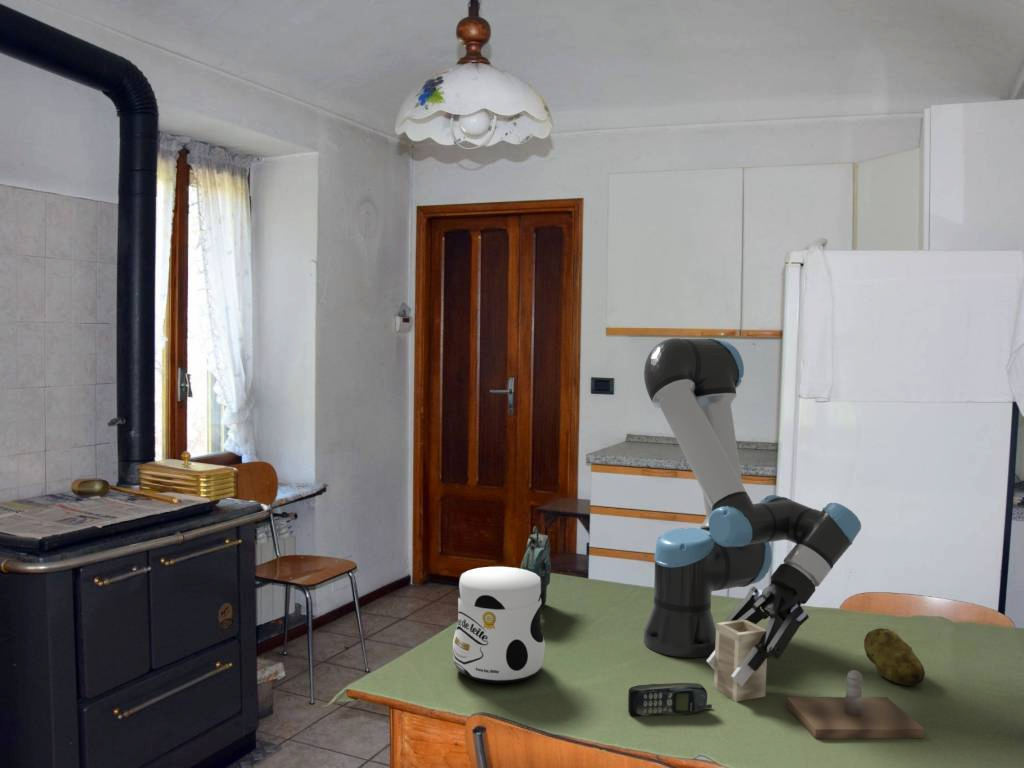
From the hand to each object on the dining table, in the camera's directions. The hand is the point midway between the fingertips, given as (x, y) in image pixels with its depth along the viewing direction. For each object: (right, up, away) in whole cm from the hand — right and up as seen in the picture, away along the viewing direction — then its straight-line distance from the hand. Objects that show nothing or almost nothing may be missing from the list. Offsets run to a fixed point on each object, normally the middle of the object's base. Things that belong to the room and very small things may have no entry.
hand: (723, 673), depth 152 cm
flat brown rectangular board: (+19, -5, -9) cm, 22 cm away
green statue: (-33, -1, +40) cm, 52 cm away
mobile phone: (-11, -5, -7) cm, 14 cm away
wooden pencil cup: (+3, -4, +2) cm, 5 cm away
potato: (+35, -4, +11) cm, 37 cm away
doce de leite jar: (-41, -3, +8) cm, 41 cm away
